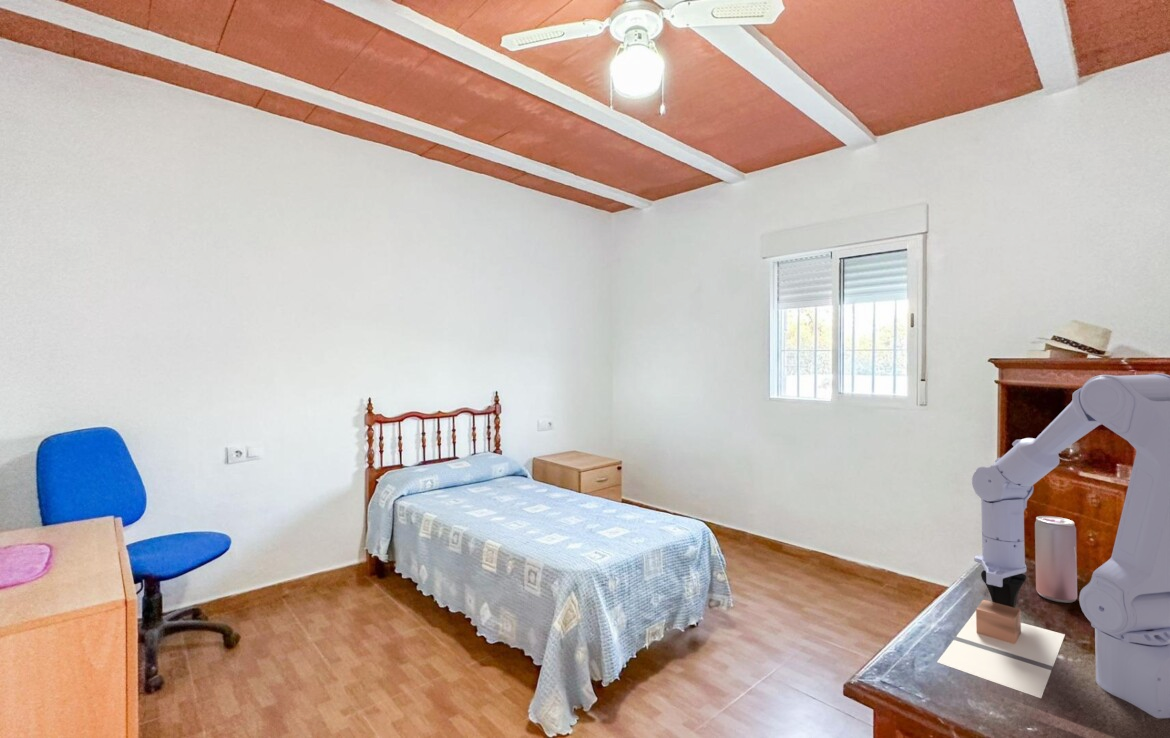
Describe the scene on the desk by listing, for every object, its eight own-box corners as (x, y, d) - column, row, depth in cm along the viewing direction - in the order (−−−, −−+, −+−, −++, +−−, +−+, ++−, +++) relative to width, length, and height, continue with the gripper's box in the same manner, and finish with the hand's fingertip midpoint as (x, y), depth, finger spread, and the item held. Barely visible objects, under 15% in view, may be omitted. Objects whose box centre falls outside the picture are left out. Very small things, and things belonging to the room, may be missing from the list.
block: (983, 622, 91) (983, 599, 91) (1020, 633, 87) (1020, 609, 87) (976, 632, 88) (976, 608, 88) (1014, 644, 84) (1014, 619, 84)
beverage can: (1035, 587, 106) (1034, 513, 106) (1075, 595, 103) (1074, 518, 103) (1036, 598, 102) (1035, 521, 102) (1078, 606, 98) (1077, 526, 98)
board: (976, 615, 95) (975, 610, 95) (1065, 640, 86) (1065, 634, 86) (936, 668, 79) (936, 662, 79) (1041, 705, 70) (1041, 698, 70)
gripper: (984, 522, 98) (985, 595, 98) (963, 541, 89) (965, 621, 89) (1033, 531, 93) (1034, 607, 93) (1017, 551, 83) (1018, 637, 83)
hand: (1004, 615), depth 90 cm, fingers closed
